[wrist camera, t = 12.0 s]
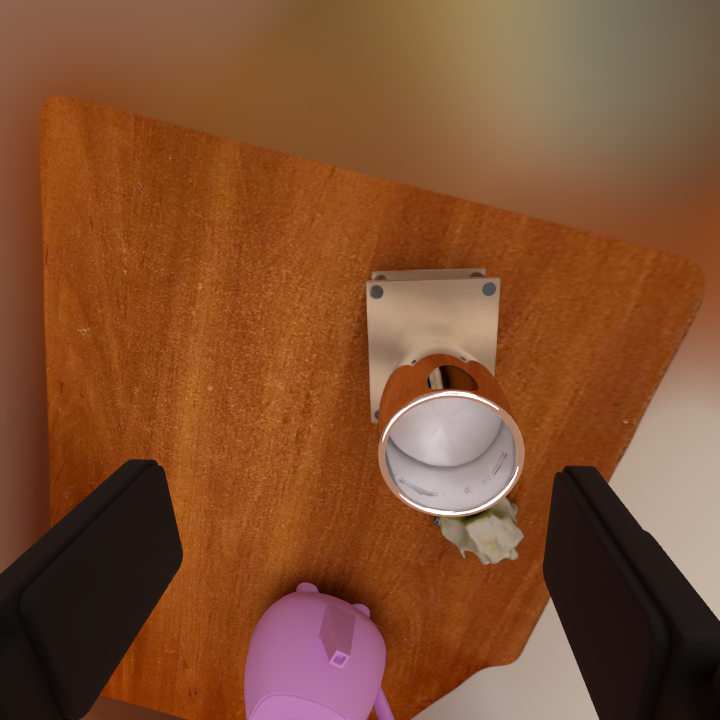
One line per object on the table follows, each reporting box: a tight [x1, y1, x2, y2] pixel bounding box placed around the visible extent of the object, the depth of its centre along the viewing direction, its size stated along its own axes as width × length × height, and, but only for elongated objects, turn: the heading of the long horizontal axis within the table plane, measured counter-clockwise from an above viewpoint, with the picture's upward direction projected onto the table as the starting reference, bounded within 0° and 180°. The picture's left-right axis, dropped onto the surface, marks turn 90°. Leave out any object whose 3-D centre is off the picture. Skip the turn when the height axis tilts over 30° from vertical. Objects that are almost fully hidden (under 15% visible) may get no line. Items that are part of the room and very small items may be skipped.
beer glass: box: [378, 319, 525, 517], centre depth 26 cm, size 7×7×15 cm
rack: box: [366, 268, 501, 423], centre depth 37 cm, size 12×10×9 cm
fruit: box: [434, 496, 524, 565], centre depth 44 cm, size 9×9×8 cm
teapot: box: [244, 583, 395, 720], centre depth 48 cm, size 20×20×15 cm
